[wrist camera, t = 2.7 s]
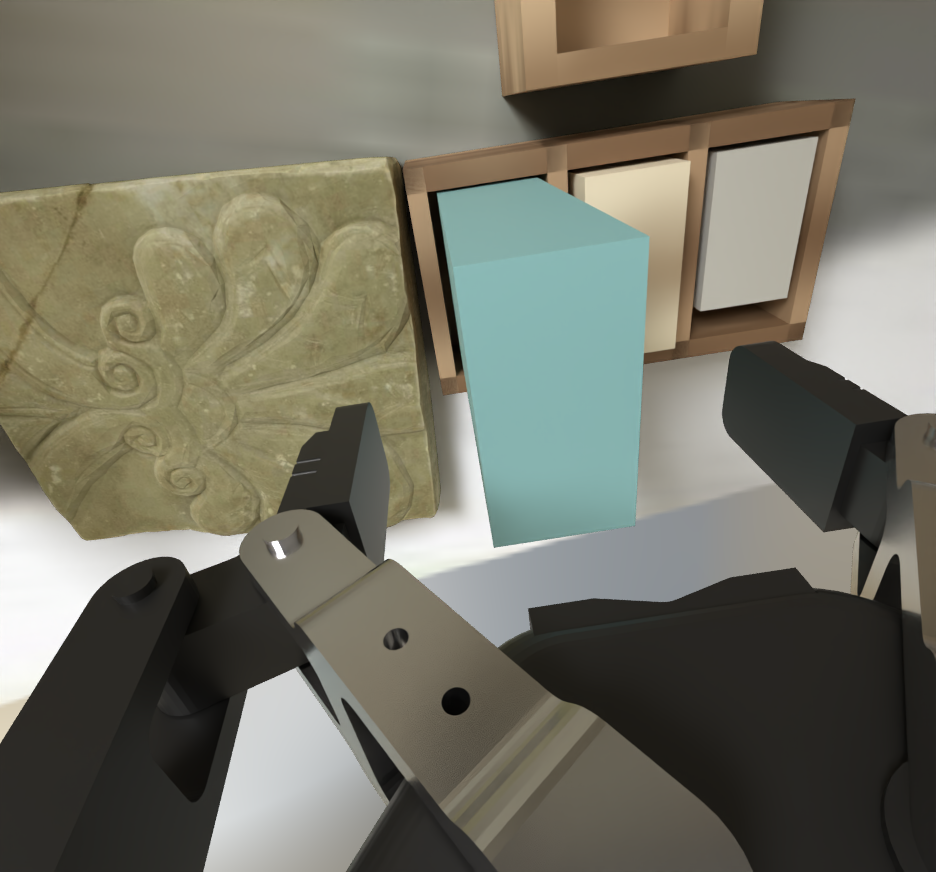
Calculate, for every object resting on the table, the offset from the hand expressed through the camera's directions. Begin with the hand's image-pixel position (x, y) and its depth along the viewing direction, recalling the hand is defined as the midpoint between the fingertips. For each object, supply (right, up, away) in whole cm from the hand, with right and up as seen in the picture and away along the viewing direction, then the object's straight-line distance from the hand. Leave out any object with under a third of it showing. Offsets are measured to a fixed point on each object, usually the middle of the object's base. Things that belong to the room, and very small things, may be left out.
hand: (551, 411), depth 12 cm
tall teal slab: (-1, +7, +11) cm, 14 cm away
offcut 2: (+9, +9, +11) cm, 17 cm away
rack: (+4, +8, +12) cm, 15 cm away
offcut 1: (+4, +8, +11) cm, 14 cm away
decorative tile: (-14, +3, +15) cm, 21 cm away
